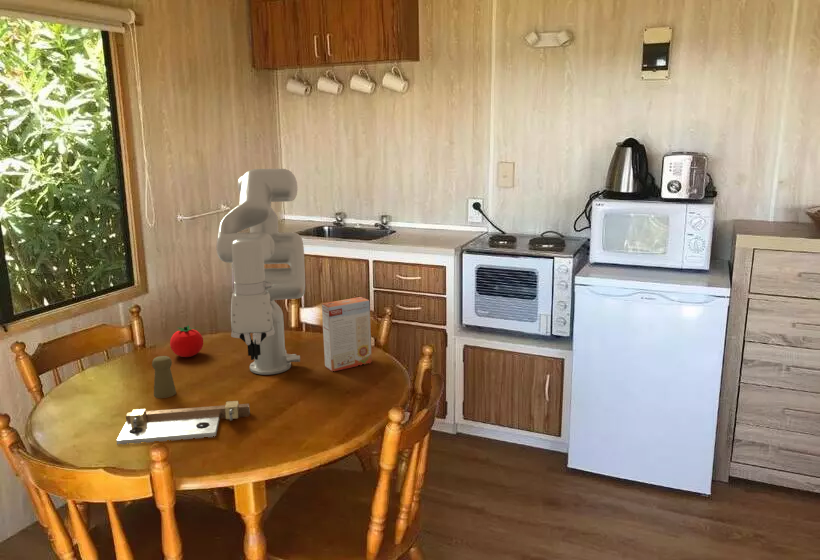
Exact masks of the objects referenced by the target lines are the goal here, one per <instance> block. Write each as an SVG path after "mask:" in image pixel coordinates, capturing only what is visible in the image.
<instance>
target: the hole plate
mask: <svg viewBox="0 0 820 560" xmlns="http://www.w3.org/2000/svg"><path fill="white" fill-rule="evenodd" d="M238 404H239V416H238V418H243V417H250V415H251V414H250V413H251V411H250V410H251V409H250V403H241V404H240V403H238ZM225 406H226V404H223V405H213V406H212V405H211V406H201V407H200V406H198V407H185V408H172V409H171V408H169V409H159V410H157V409H156V410H147V409H146V408H140V409H139V408H136V409H132V411H130V412H127V413H126V415H125V418H126V419H125V420H126V422H125V424H124V425H123V427H122V429H121V431H120V433H119V435H118V436H117V439H116V445H117V446H119V445H118V444H122V445H130V444H129V443H134V444H142V443H141V442H146V443H155V442H154V441H159V442H167V440H169V441H168V442H170V440H171V441H181V439H183V440H194V439H193V438H195V439H204V437H208V438H216V437H217V432H218V429H219V426H220V425H219V423H220V420H221V419H226V413H225ZM213 436H214V437H213ZM215 436H216V437H215ZM127 443H128V444H127Z"/></svg>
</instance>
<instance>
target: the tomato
mask: <svg viewBox="0 0 820 560" xmlns="http://www.w3.org/2000/svg"><path fill="white" fill-rule="evenodd" d="M178 329H179V330H178ZM169 341H170V342H169V346H170V349H171V351H172V352H173V353H174V354H175V355H176V356H178V357H182V358H190V357H194V356H196V355H198V354H199V353H200V351H201V350H202V349H203V347H204V337H203V335H202V334H201V333H200V332H199V331H198V330H197V329H195V327H191V328H190V325H189V324H188V325H187V326H184V327H183V328H182V327H180V326H179V327H178V326H177V330H176V331H175V332H174V333H173V334H172V335H171V337H170V340H169Z"/></svg>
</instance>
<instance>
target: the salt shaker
mask: <svg viewBox="0 0 820 560" xmlns="http://www.w3.org/2000/svg"><path fill="white" fill-rule="evenodd" d="M172 363H173V362H172V358H170V356H167V355H160V356H156V357H154V358H153V360H152V363H151V366H152V368H153V370H154V382H153V383H154V384H153V397H154V398H156V399H165V398H171V397H173V396H175V395H176V394H177V390H176V387H175V386H176V385H175V382H174V378H173V374H172V369H171V367H172V365H173V364H172Z"/></svg>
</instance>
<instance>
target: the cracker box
mask: <svg viewBox="0 0 820 560" xmlns="http://www.w3.org/2000/svg"><path fill="white" fill-rule="evenodd" d="M370 304H371V303H370V300H369V299H367V298H365V297H362V296H359V297H352V298H347V299H342V300H336V301H335V300H334V301H328V302H323V303H321V316H322V319H321V320H322V336H323V353H324V367H325V368H327V370H329V371H331V372H333V371H334V372H338V371H341V370H346V369H350V368H354V367H359V366H358V365H360V366H363V365H362V364H364V365H367V364H366V363H369V364H372V363H371V362H372V335H371V334H372V333H371V331H372V330H371V313H370V312H371V307H370ZM334 372H333V373H334Z"/></svg>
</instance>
